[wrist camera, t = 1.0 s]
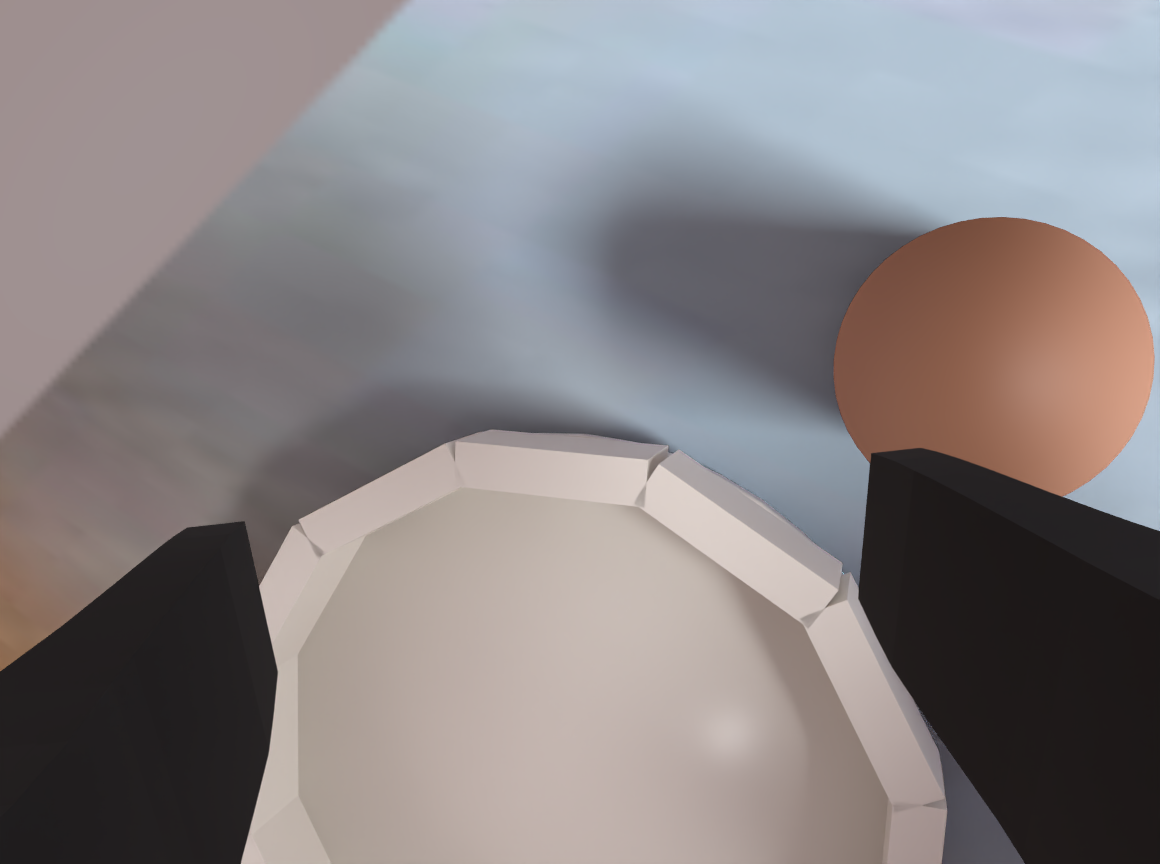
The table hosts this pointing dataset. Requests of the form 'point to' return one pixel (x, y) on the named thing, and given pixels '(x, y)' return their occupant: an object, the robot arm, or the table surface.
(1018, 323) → the brown rounded cylinder
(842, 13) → the table surface
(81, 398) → the table surface
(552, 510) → the round tray
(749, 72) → the table surface
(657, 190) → the table surface
